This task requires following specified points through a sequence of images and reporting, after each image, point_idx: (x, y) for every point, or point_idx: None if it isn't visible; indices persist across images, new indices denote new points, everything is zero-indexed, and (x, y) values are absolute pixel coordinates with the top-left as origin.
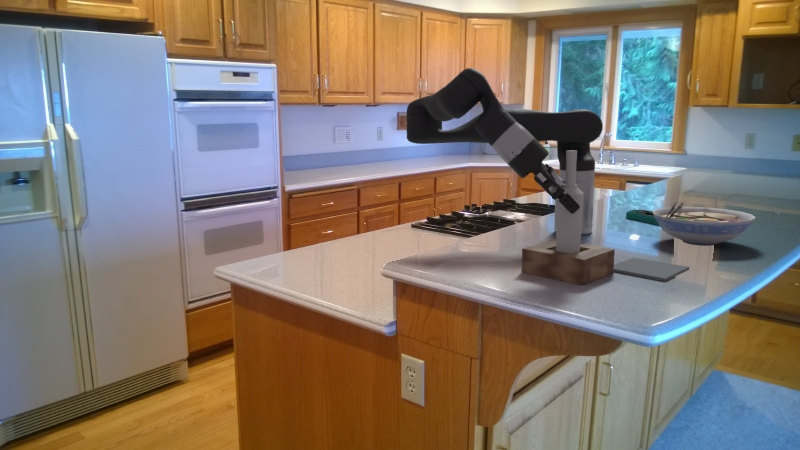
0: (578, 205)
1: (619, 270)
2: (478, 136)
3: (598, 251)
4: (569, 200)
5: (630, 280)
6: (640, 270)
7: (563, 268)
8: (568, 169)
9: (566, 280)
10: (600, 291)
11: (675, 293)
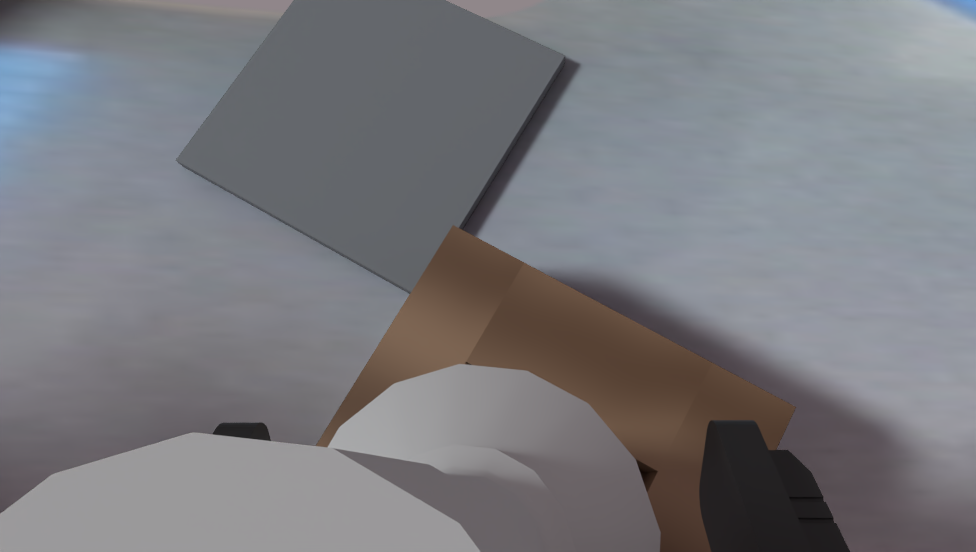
0: (756, 433)
1: None
2: None
3: (536, 317)
4: (842, 550)
5: (583, 198)
6: (442, 143)
7: None
8: None
9: None
10: (826, 339)
11: (742, 42)
